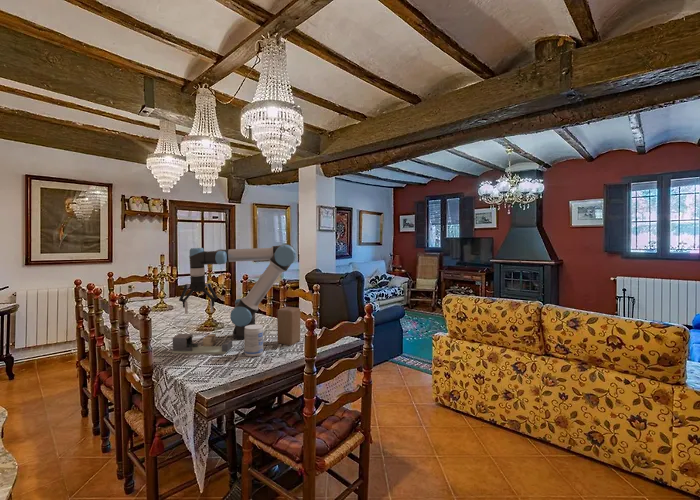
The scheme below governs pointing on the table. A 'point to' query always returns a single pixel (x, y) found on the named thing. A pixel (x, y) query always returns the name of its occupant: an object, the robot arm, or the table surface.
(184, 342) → the cap
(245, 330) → the supplement tub
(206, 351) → the board
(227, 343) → the cap
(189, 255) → the robot arm
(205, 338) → the brown block
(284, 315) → the wooden block
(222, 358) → the table surface
